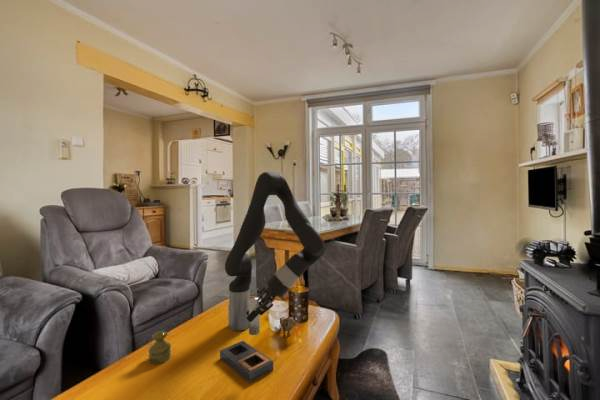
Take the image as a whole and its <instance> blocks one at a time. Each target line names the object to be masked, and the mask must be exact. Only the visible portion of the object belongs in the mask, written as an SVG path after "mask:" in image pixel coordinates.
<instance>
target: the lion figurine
mask: <svg viewBox="0 0 600 400" xmlns="http://www.w3.org/2000/svg"><path fill="white" fill-rule="evenodd" d="M297 324H298V322H297V321H296V320H295V319H294V317H292V316H289V317H286V318H285V316H284V317H282V318H280V325H279V326H280V328H281V327H282V328H281V329H282V338H283V339H286V338H287V336H288V337H291V335H292V334H291V333H290V332H291V331H292V330H293V329H294V328H295V327H296V325H297ZM279 330H280V329H279ZM279 330H278V331H277V330H276V332H278V333H279V332H280V331H279ZM286 332H287V333H286ZM286 334H287V336H286Z"/></svg>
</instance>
